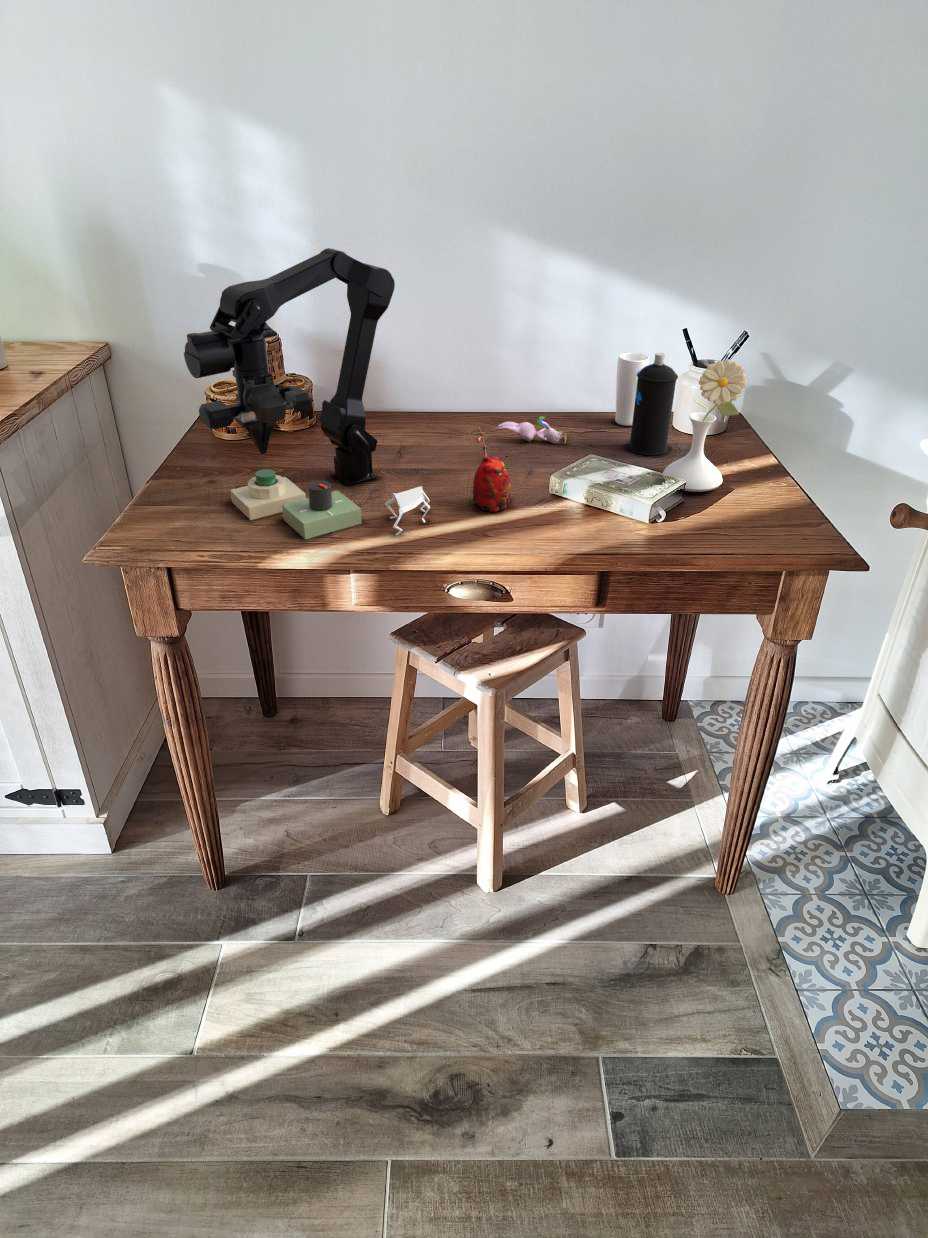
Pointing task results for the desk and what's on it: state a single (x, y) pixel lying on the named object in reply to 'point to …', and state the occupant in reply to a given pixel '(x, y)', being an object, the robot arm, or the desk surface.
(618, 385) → the white cylindrical vase
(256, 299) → the robot arm
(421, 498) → the white block with legs
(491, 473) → the red clay folk toy
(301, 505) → the console
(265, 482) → the green button cap
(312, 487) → the dial
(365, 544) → the desk surface
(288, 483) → the button base
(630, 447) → the aerosol can
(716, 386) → the flower in vase
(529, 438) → the rabbit figure
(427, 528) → the desk surface
